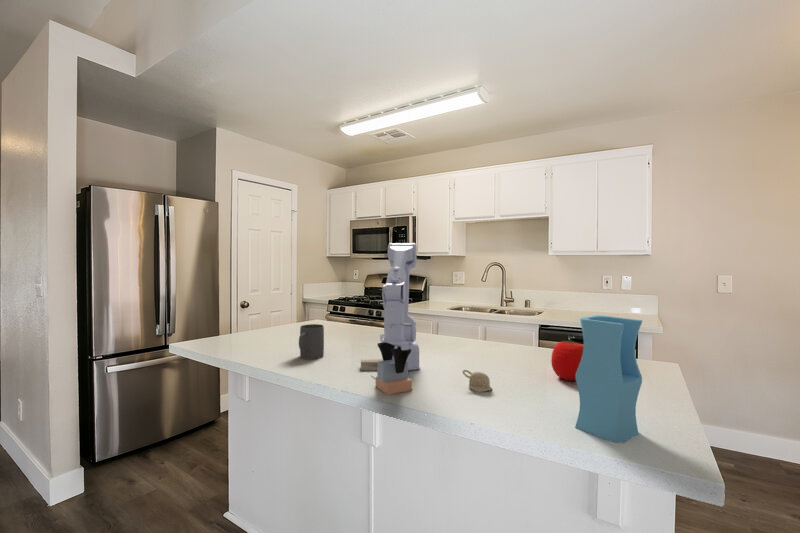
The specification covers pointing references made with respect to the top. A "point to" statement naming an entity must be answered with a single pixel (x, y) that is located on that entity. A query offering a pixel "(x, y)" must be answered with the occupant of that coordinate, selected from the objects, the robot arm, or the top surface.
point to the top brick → (390, 371)
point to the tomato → (566, 359)
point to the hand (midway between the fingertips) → (393, 369)
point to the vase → (609, 378)
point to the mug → (311, 341)
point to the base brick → (394, 385)
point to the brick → (369, 364)
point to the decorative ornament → (478, 381)
